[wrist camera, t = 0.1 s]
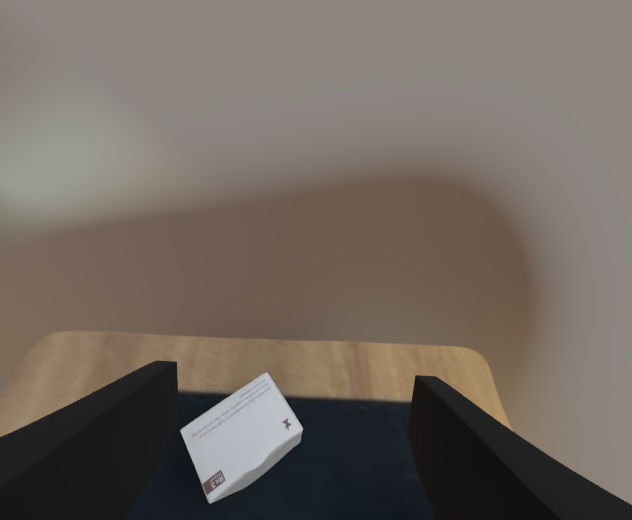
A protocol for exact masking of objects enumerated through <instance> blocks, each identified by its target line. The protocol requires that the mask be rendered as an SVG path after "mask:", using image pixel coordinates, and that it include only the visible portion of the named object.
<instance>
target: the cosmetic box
mask: <svg viewBox="0 0 632 520" xmlns="http://www.w3.org/2000/svg"><path fill="white" fill-rule="evenodd" d="M302 430H303V427H302V426H301V424H300V423H299V421H298V419H297V418H296V416H295V414H294V413H293V411H292V410H291V408H290V406H289V405H288V403H287V402H286V400H285V398H284V397H283V395H282V394H281V392H280V391H279V389H278V388H277V386H276V385H275V383H274V382H273V380H272V378H271V377H270V376H269V374H268V373H267V372H265V373H264V374H262V375H260V376H259V377H257V378H256V379H255V380H253V381H251V382H250V383H248V384H247V385H245V386H244V387H242V388H241V389H239V390H238V391H236V392H235V393H233V394H232V395H230V396H229V397H227V398H226V399H224V400H223V401H221V402H220V403H218V404H217V405H216V406H214V407H213V408H211V409H210V410H208V411H207V412H205V413H204V414H202V415H201V416H199V417H198V418H197V419H195V420H194V421H192V422H191V423H189V424H188V425H187V426H185V427H184V428H182V429H181V434H182V436H183V439H184V441H185V444H186V446H187V449H188V451H189V453H190V456H191V459H192V461H193V464H194V466H195V469H196V471H197V474H198V476H199V479H200V482H201V484H202V487H203V489H204V492H205V495H206V497H207V500H208V502H209V503H210V504H211V503H213V502H215V501H217V500H219V499H221V498H223V497H226V496H228V495H230V494H232V493H235V492H237V491H239V490H241V489H244V488H245V487H247V486H248V485H250V484H251V483H253V482H254V481H255V480H257V479H258V478H259V477H260V476H262V475H263V474H264V473H265V472H267V471H268V470H269V469H270V468H271V467H272V466H273V465H275V464H276V463H277V462H278V461H279V460H280V459H281V458H282V457H283V456H285V455H286V454H287V453H288V452H289V451H290V450H291V449H292V448H293V447H295V446H296V445H297V444H299V443H300V442H301V435H302Z"/></svg>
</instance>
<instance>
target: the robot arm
mask: <svg viewBox="0 0 632 520" xmlns="http://www.w3.org/2000/svg"><path fill="white" fill-rule="evenodd" d="M178 422H179V414H178V382H177V362H171V361H154V362H152V363H150V364H148V365H145V366H143V367H141V368H139V369H137V370H135V371H133V372H132V373H130V374H128V375H126V376H124V377H122V378H120V379H118V380H116V381H114V382H112V383H111V384H109V385H107V386H105V387H103V388H101V389H99V390H97V391H95V392H93V393H91V394H90V395H88V396H86V397H84V398H82V399H80V400H78V401H76V402H74V403H72V404H70V405H68V406H66V407H64V408H62V409H59V410H57V411H55V412H53V413H51V414H49V415H47V416H45V417H43V418H41V419H39V420H37V421H35V422H33V423H31V424H29V425H27V426H24V427H22V428H20V429H18V430H16V431H13V432H11V433H9V434H7V435H4V436H2V437H0V520H126V518H127V516H128V515H129V513H130V511H131V510H132V508H133V506H134V505H135V503H136V501H137V500H138V498H139V496H140V495H141V493H142V491H143V490H144V488H145V486H146V485H147V483H148V481H149V480H150V478H151V476H152V475H153V473H154V471H155V469H156V468H157V466H158V464H159V463H160V461H161V459H162V457H163V455H164V453H165V451H166V449H167V447H168V445H169V442H170V440H171V438H172V436H173V433H174V431H175V429H176V427H177V424H178ZM407 436H408V440H409V444H410V447H411V451H412V455H413V458H414V462H415V465H416V469H417V472H418V474H419V477H420V480H421V482H422V485H423V487H424V490H425V492H426V495H427V497H428V500H429V503H430V505H431V508H432V510H433V513H434V515H435V518H436V520H632V505H631V504H629V503H627V502H625V501H624V500H622V499H620V498H618V497H616V496H615V495H613V494H611V493H609V492H608V491H606V490H604V489H603V488H601V487H599V486H598V485H596V484H594V483H593V482H591V481H589V480H587V479H586V478H584V477H582V476H581V475H579V474H577V473H576V472H574V471H572V470H571V469H569V468H567V467H566V466H564V465H563V464H561V463H559V462H558V461H556V460H555V459H553V458H551V457H550V456H548V455H547V454H545V453H544V452H542V451H541V450H539V449H538V448H536V447H535V446H533V445H532V444H530V443H529V442H527V441H526V440H524V439H523V438H521V437H520V436H518V435H517V434H516V433H514V432H513V431H511V430H510V429H508V428H507V427H506V426H504V425H503V424H501V423H500V422H499V421H497V420H496V419H494V418H493V417H492V416H490V415H489V414H487V413H486V412H485V411H483V410H482V409H481V408H479V407H478V406H477V405H475V404H474V403H472V402H471V401H470V400H468V399H467V398H466V397H464V396H463V395H462V394H460V393H459V392H458V391H456V390H455V389H453V388H452V387H451V386H449V385H448V384H446V383H445V382H443V381H442V380H440V379H439V378H437V377H436V376H418V375H416V377H415V383H414V390H413V396H412V403H411V409H410V416H409V422H408V429H407Z"/></svg>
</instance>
